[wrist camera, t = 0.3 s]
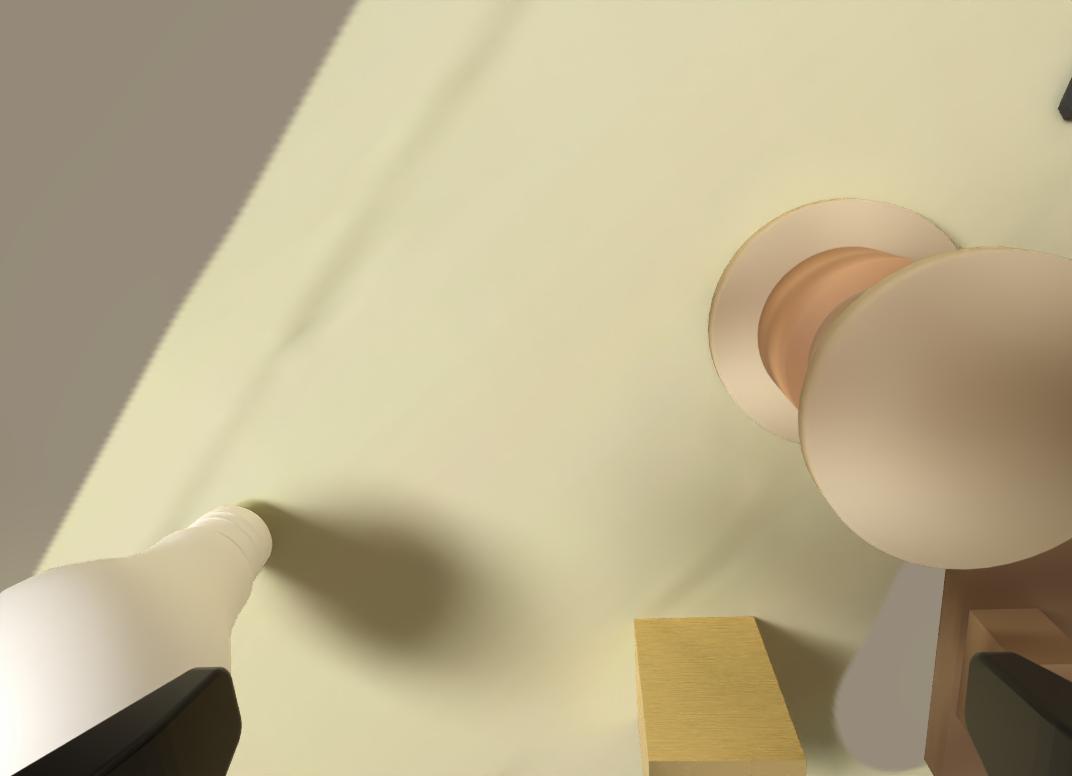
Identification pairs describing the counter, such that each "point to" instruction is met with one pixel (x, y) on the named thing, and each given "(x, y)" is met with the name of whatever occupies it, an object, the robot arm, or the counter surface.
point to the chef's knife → (1066, 103)
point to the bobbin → (908, 377)
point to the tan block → (711, 701)
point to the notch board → (980, 592)
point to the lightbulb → (120, 629)
